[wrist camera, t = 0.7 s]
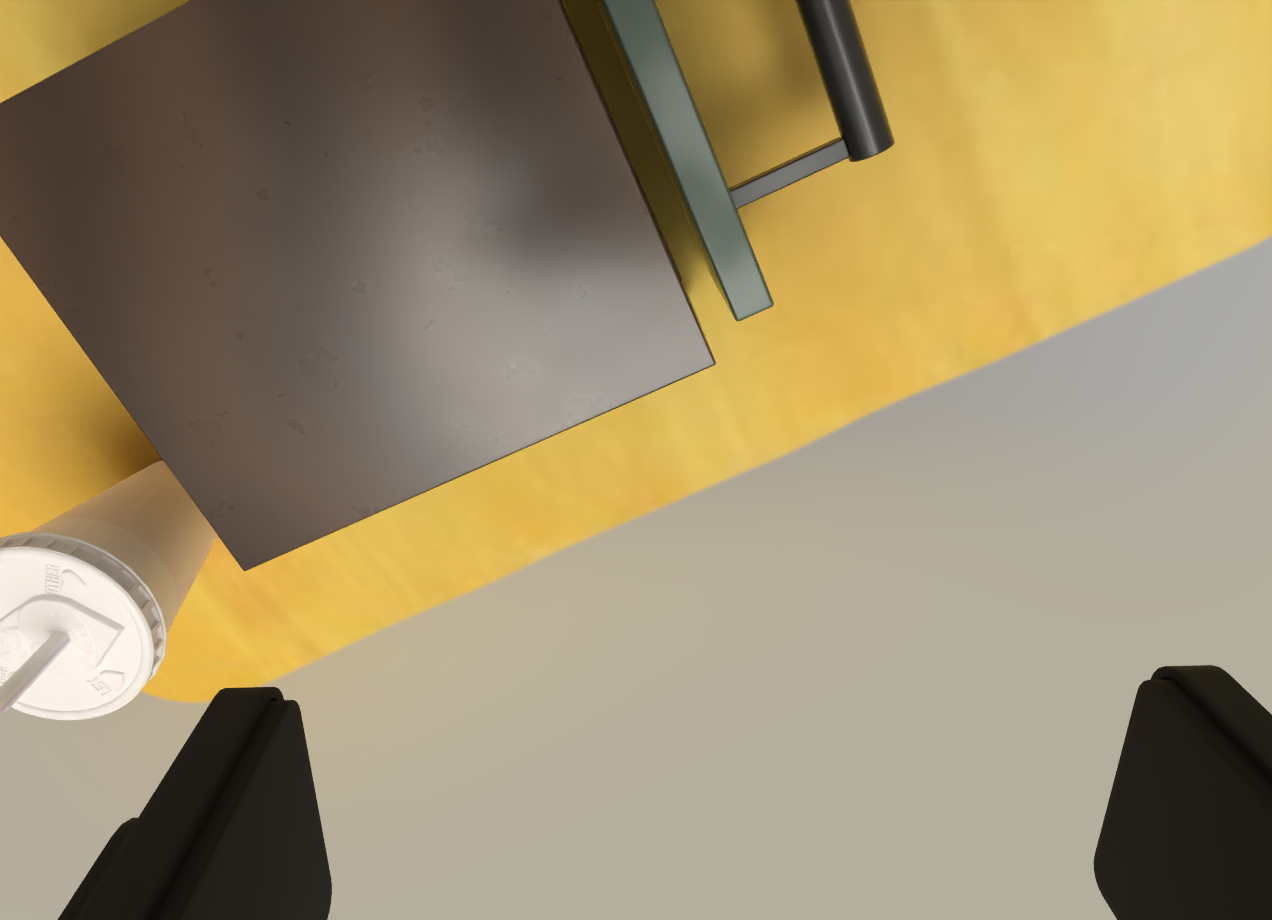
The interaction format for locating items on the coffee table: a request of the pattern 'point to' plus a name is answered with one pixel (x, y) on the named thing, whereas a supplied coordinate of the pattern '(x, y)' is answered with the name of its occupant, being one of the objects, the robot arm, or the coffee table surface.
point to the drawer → (691, 151)
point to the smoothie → (97, 596)
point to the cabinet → (343, 247)
